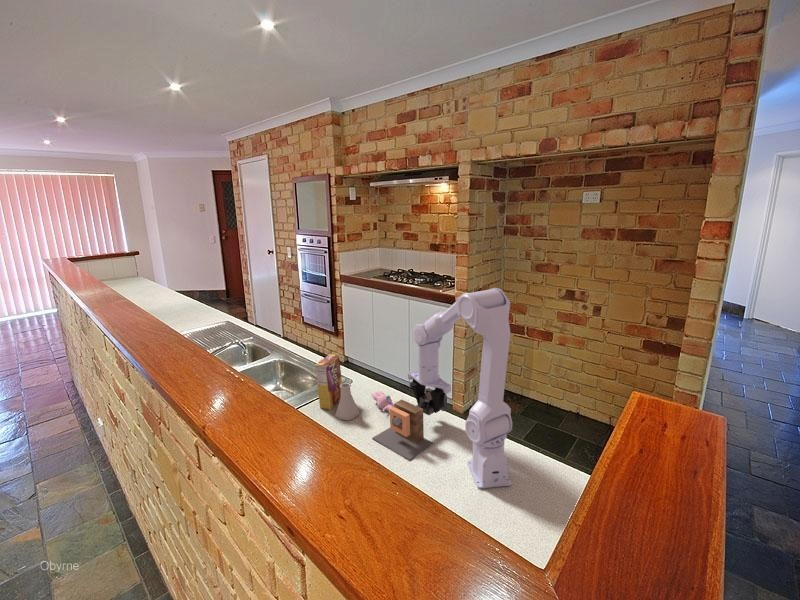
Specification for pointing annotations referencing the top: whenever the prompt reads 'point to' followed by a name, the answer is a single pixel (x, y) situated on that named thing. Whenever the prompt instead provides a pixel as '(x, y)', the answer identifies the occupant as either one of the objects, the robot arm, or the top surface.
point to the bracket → (412, 420)
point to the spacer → (405, 418)
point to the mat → (401, 444)
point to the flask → (346, 404)
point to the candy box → (329, 381)
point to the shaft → (425, 406)
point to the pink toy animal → (383, 400)
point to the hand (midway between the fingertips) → (428, 407)
